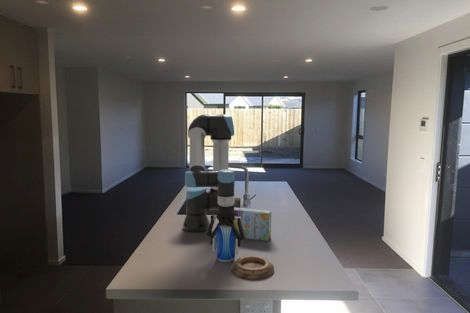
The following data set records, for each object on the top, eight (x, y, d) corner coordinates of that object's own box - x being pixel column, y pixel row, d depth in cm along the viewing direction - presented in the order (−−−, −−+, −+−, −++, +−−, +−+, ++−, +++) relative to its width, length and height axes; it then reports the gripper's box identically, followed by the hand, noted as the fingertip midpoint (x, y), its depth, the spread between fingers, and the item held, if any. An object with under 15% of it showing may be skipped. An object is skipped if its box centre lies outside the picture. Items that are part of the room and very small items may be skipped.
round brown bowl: (226, 276, 144) (226, 268, 143) (237, 258, 161) (237, 251, 160) (270, 282, 139) (270, 274, 139) (276, 263, 156) (276, 256, 156)
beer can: (216, 255, 164) (216, 222, 162) (234, 254, 165) (234, 221, 163) (216, 263, 156) (216, 228, 154) (235, 262, 156) (236, 228, 154)
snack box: (271, 238, 187) (271, 210, 185) (268, 241, 182) (269, 213, 180) (233, 233, 194) (233, 206, 192) (230, 236, 189) (230, 209, 186)
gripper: (199, 204, 156) (199, 252, 159) (248, 208, 150) (248, 258, 153) (204, 200, 163) (205, 246, 166) (252, 204, 158) (251, 251, 161)
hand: (225, 252), depth 160 cm, fingers open, 10 cm apart
